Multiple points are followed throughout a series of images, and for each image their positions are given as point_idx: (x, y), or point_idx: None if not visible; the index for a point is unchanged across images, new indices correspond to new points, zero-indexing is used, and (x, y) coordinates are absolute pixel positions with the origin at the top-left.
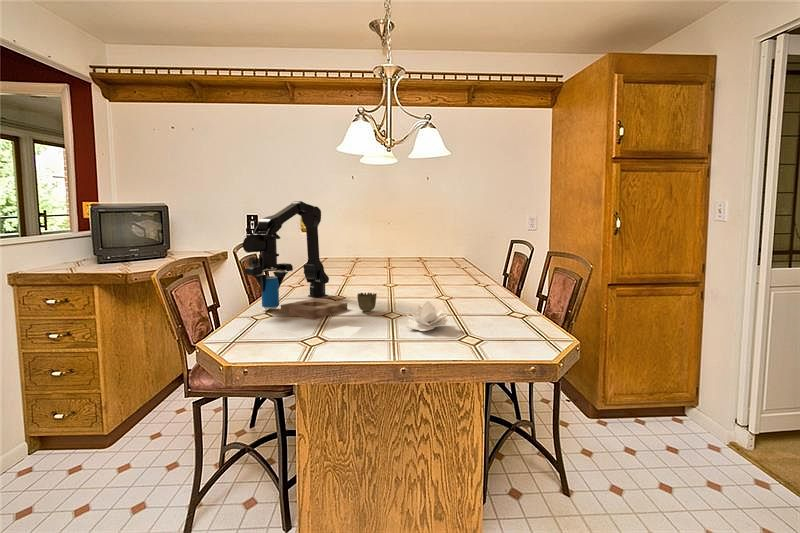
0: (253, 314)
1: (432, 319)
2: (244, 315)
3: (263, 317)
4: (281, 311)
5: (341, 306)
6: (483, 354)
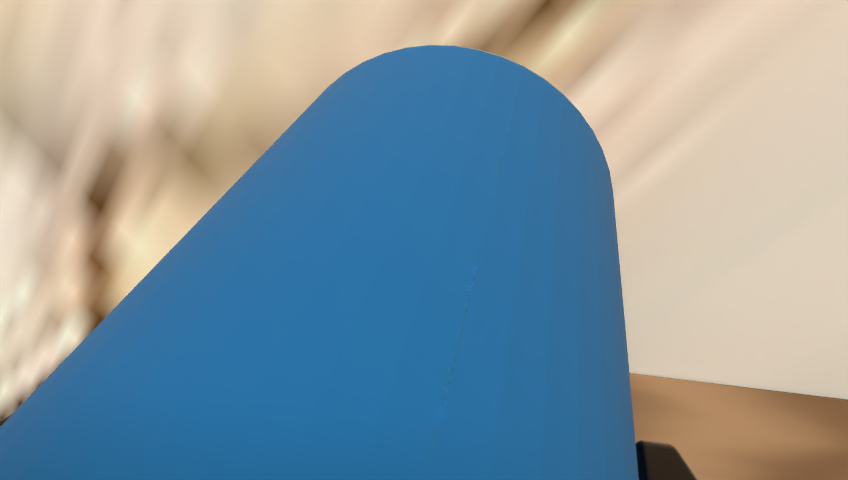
0: (181, 66)
1: None
2: (48, 9)
3: None
4: None
5: None
6: None
